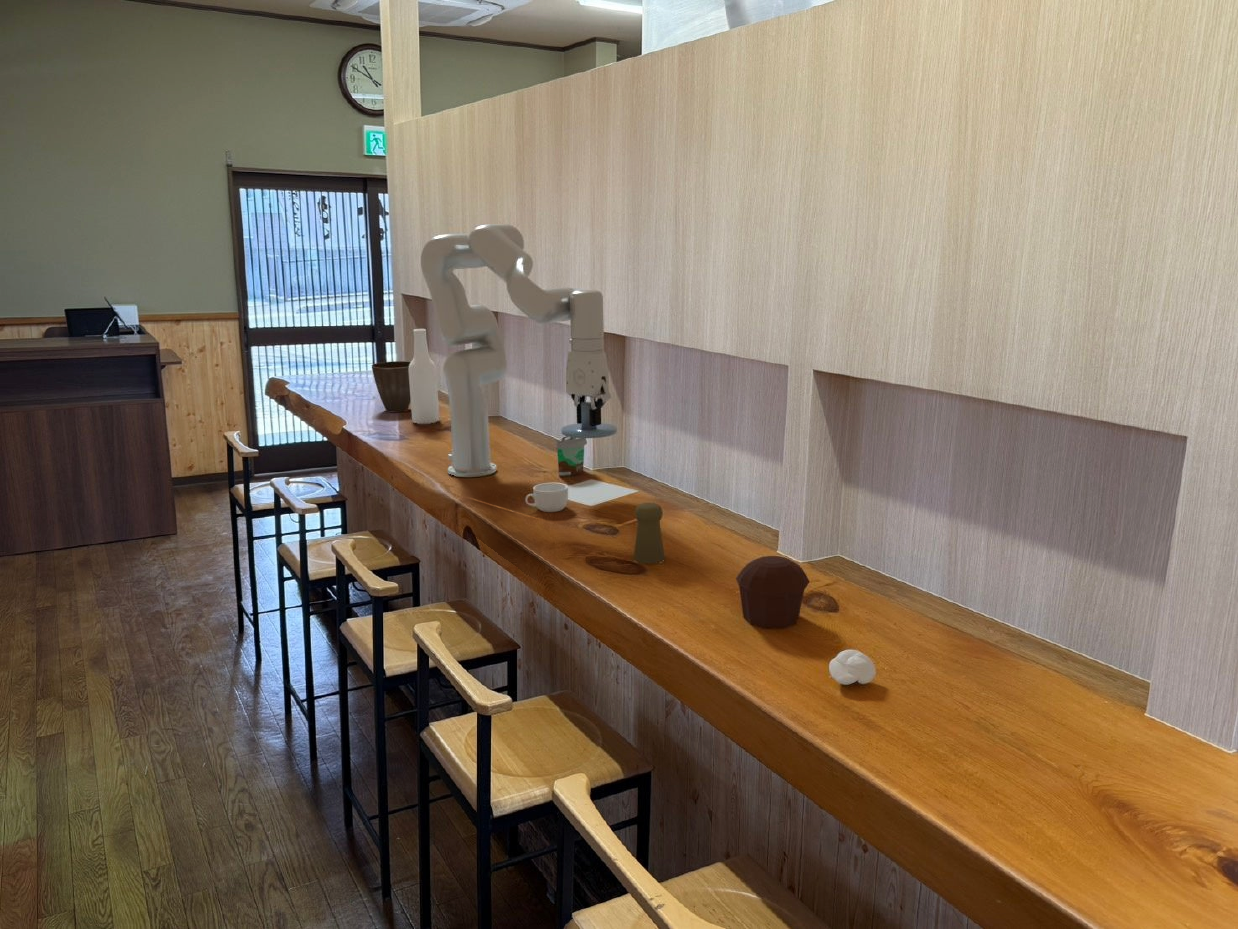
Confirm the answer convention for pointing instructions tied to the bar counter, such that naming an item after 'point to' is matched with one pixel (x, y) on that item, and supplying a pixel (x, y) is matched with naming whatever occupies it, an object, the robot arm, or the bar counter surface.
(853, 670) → the dumpling
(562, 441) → the food container
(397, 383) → the plant pot
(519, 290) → the robot arm
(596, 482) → the mat
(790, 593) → the muffin
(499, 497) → the bar counter surface
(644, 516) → the cork
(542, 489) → the teacup
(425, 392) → the alcohol
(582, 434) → the lid
